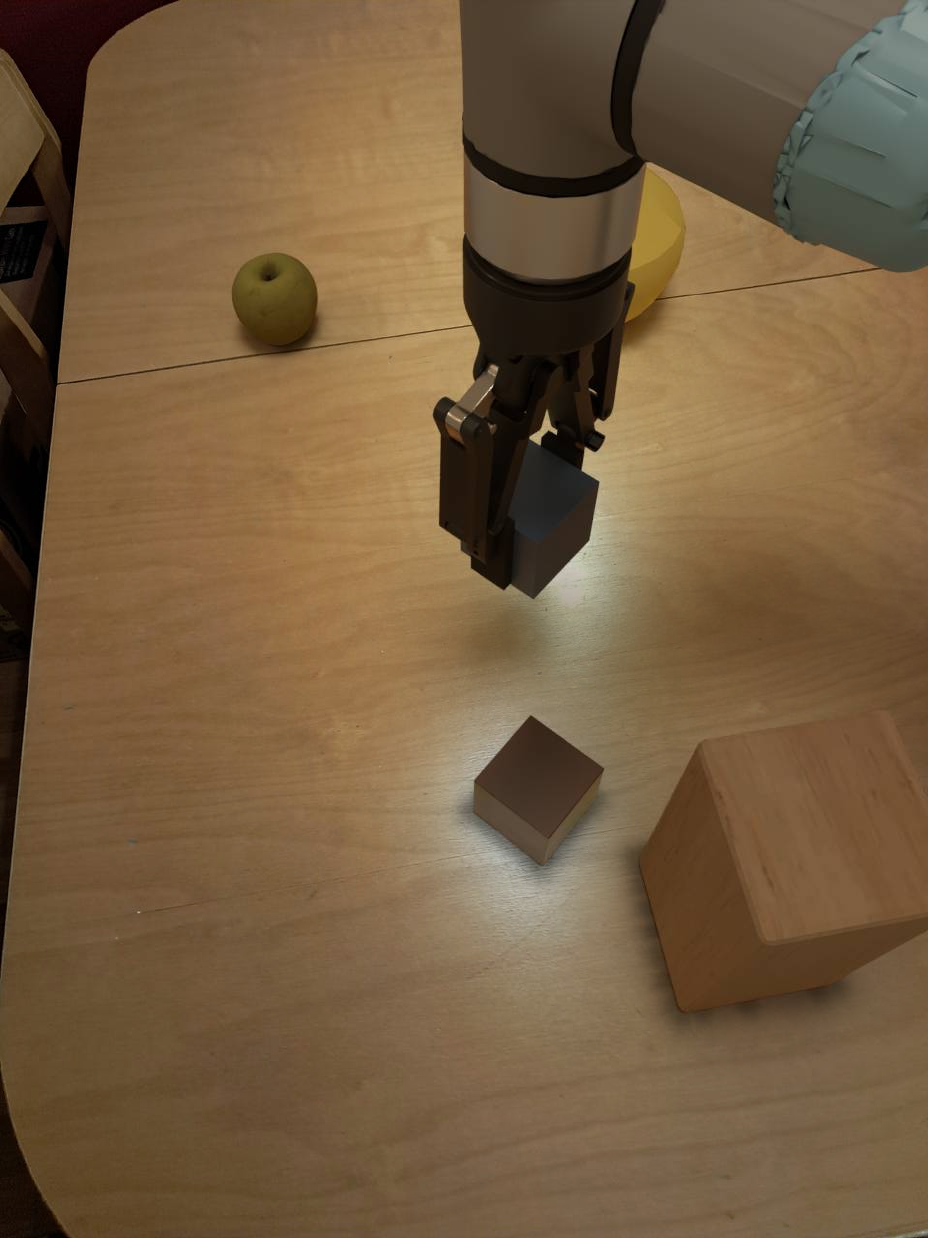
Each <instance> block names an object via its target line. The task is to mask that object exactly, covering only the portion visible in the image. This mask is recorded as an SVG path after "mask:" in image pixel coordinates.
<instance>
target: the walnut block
mask: <svg viewBox="0 0 928 1238" xmlns="http://www.w3.org/2000/svg"><path fill="white" fill-rule="evenodd" d="M604 771H605V767H603V766H602V765H601V764H599V763H598V762H596V761H595V760H594V759H593V758H591V757H589V756H588V755H587V754H586V753H584V752H583V751H581V750H580V749H578V748H577V747H576V746H574V745H573V744H572V743H570V742H569V741H568V740H566V739H565V738H564V737H562V736H560V735H559V734H558V733H556V731H554V730H553V729H551V728H550V727H548V726H547V725H546V724H544V723H543V722H541V720H539V719H538V718H536V717H535V716H533V715H532V714H530V715H529V716H528V717H527V718H526V719H525V721H523V722H522V724H521V725H520V726H519V727H518V728H517V730H516V731H515V732H514V733H513V734H512V735H511V737H509V739H508V740H507V741H506V742H505V744H504V745H503V746H502V747H501V749H499V751H498V752H497V753H496V754H495V755H494V757H493V758H492V759H491V760H490V761H489V762H488V764H487V765H486V766H485V767H484V768H483V769H482V770H481V772H479V774H478V775H477V776H476V777H475V778H474V780H473V813H474V814H475V815H476V816H478V817H479V818H480V819H481V820H483V821H484V822H485V823H487V824H488V825H489V826H490V827H492V828H493V829H494V830H496V831H497V832H498V833H499V834H501V835H502V836H503V837H504V838H505V839H507V840H508V841H509V842H510V843H512V844H513V845H514V846H516V847H517V848H518V849H520V850H521V851H522V852H523V853H525V854H526V855H527V856H528V857H530V858H531V859H532V860H533V861H535V862H536V863H537V864H538V865H540V866H541V867H544V866H545V865H546V863H547V862H548V861H549V859H550V858H551V857H552V856H553V854H554V853H555V852H556V851H557V849H558V848H559V846H561V844H562V843H563V842H564V841H565V839H566V838H567V836H568V835H569V834H570V833H571V832H572V830H573V829H574V827H576V825H577V824H578V822H579V821H580V820H581V819H582V818H583V816H584V815H585V813H586V812H587V811H588V810H589V809H590V807H591V806H592V805H593V804H594V802H595V800H596V796H597V793H598V790H599V787H600V784H601V781H602V778H603V775H604Z"/></svg>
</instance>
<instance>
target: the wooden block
mask: <svg viewBox="0 0 928 1238" xmlns="http://www.w3.org/2000/svg"><path fill="white" fill-rule="evenodd" d="M638 863H639V867H640V870H641V875H642V878H643V881H644V886H645V889H646V893H647V896H648V901H649V904H650V907H651V911H652V914H653V918H654V922H655V923H654V924H655V926H656V929H657V933H658V937H659V941H660V944H661V948H662V952H663V956H664V959H665V963H666V966H667V970H668V975H669V977H670V980H671V981H670V982H671V985H672V988H673V992H674V995H675V999H676V1003H677V1006H678V1007H679V1009H680V1010H681V1011H682V1012H685V1013H691V1012H692V1013H693V1012H696V1011H703V1010H708V1009H712V1008H718V1007H724V1006H728V1005H733V1004H738V1003H744V1002H749V1001H755V1000H760V999H765V998H770V997H774V996H775V997H776V996H781V995H786V994H790V993H796V992H800V991H806V990H811V989H816V988H821V987H827V986H830V985H832V984H833V983H836V982H837V981H839V980H841V979H842V978H844V977H846V976H848V975H850V974H851V973H854V972H855V971H857V970H859V969H861V968H862V967H864V966H867V965H869V964H870V963H872V962H873V961H875V960H877V959H879V958H881V957H883V956H884V955H885V954H888V953H890V952H891V951H893V950H895V949H897V948H899V947H900V946H902V945H904V944H906V943H908V942H910V941H911V940H914V939H915V938H917V937H918V936H920V935H922V934H924V933H926V932H927V931H928V796H927V793H926V792H925V789H924V787H923V785H922V783H921V781H920V778H919V776H918V774H917V772H916V770H915V767H914V765H913V763H912V760H911V758H910V756H909V754H908V752H907V750H906V747H905V745H904V742H903V741H902V738H901V736H900V734H899V731H898V729H897V727H896V725H895V722H894V721H893V717H892V715H891V714H890V713H889V712H888V711H887V710H882V709H881V710H880V709H879V710H873V711H866V712H862V713H854V714H848V715H842V716H838V717H832V718H825V719H819V720H813V721H807V722H801V723H795V724H789V725H783V726H778V727H772V728H765V729H759V730H754V731H748V732H747V731H746V732H742V733H737V734H736V733H735V734H730V735H724V736H718V737H712V738H708V739H707V738H706V739H703V740H702V741H699V742H698V744H697V745H696V747H695V749H694V751H693V753H692V755H691V757H690V759H689V761H688V764H686V767H685V769H684V770H683V773H682V775H681V776H680V779H679V780H678V782H677V784H676V786H675V787H674V790H673V792H672V794H671V796H670V798H669V800H668V802H667V804H666V806H665V807H664V809H663V811H662V813H661V815H660V817H659V819H658V821H657V823H656V825H655V827H654V829H653V831H652V833H651V835H650V836H649V838H648V841H647V843H646V845H645V847H644V848H643V850H642V853H640V856H639V861H638Z"/></svg>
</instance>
